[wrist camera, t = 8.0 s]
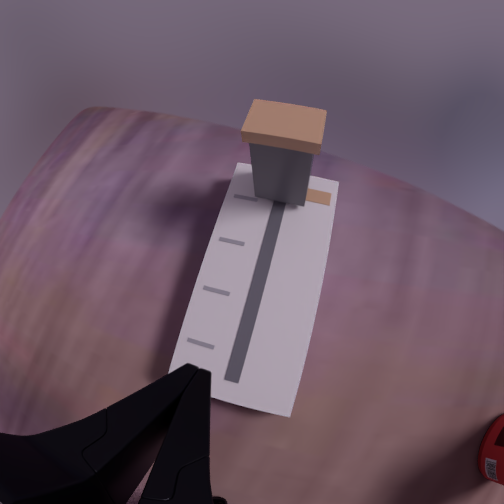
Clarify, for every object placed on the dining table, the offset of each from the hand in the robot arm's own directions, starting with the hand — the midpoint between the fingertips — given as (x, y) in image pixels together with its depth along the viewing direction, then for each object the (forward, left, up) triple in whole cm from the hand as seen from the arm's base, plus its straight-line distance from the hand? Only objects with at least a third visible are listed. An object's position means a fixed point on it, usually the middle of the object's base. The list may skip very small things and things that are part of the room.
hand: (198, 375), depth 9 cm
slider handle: (+5, +14, -11) cm, 18 cm away
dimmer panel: (+2, +7, -14) cm, 15 cm away
